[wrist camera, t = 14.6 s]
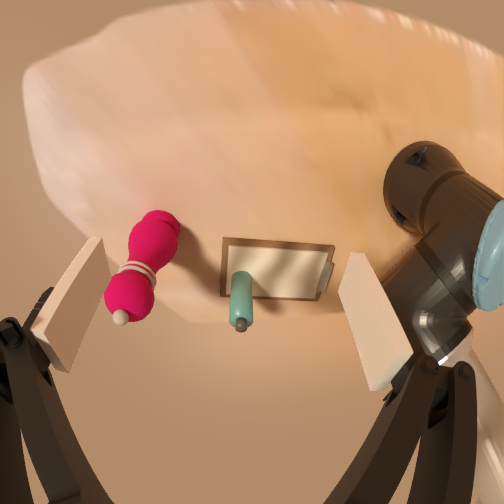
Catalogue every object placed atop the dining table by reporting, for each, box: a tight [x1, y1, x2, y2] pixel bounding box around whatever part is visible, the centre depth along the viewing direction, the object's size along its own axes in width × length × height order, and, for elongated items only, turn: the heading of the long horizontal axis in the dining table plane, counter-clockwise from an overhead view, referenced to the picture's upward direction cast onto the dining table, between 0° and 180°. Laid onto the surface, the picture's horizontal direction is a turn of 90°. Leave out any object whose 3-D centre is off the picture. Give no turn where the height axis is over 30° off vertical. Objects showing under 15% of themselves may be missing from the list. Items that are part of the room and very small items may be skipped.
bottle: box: [229, 271, 253, 332], centre depth 44 cm, size 3×3×11 cm
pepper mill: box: [104, 210, 179, 326], centre depth 35 cm, size 7×7×20 cm
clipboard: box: [220, 237, 335, 301], centre depth 48 cm, size 18×12×1 cm, turn 84°
